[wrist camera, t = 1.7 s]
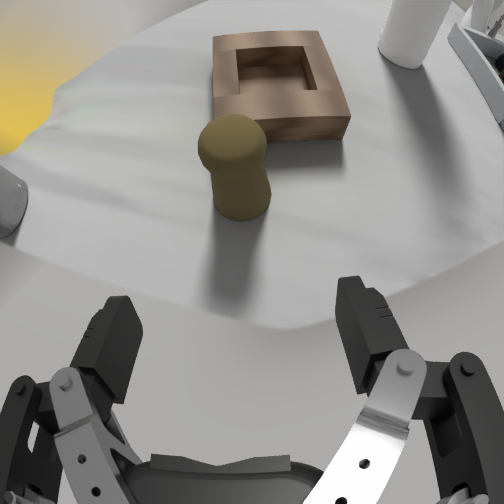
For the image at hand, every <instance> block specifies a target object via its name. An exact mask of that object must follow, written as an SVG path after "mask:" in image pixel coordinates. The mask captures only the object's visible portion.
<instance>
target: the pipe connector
mask: <svg viewBox="0 0 504 504" xmlns="http://www.w3.org/2000/svg"><path fill="white" fill-rule="evenodd" d="M495 65H496V66H497V67H498V68H499V70H500V71H501V73H500V75H499V78H500V80H501V81H502V83H503V85H504V53H503V54H501V55H500V56H499V57H498V58H497V59H496V61H495Z"/></svg>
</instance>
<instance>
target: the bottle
mask: <svg viewBox="0 0 504 504" xmlns="http://www.w3.org/2000/svg"><path fill="white" fill-rule="evenodd" d="M451 2H452V0H392V2H391V5H390V9H389V12H388V15H387V18H386V21H385V24H384V27H383V30H382V31H381V34H380V38H379V42H378V48H379V50H380V52H381V53H382V54H383V55H384V56H385V57H386V58H387V59H388V60H390V61H391V62H393V63H395V64H397V65H399V66H401V67H405V68H411V69H415V68H419V66H420V65H421V63H422V62H423V60H424V59H425V57H426V55H427V52H428V50H429V48H430V46H431V44H432V42H433V40H434V38H435V36H436V34H437V32H438V30H439V28H440V25H441V23H442V21H443V19H444V17H445V15H446V13H447V11H448V9H449V6H450V4H451Z"/></svg>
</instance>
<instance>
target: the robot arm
mask: <svg viewBox="0 0 504 504" xmlns="http://www.w3.org/2000/svg"><path fill="white" fill-rule="evenodd" d="M27 198H28V190H27V185H26V184H25V182H24V181H23V180H22V179H20V178H18V177H17V176H15V175H14V174H12V173H11V172H9V171H8V170H7V169H5V168H4V167H2V166H1V165H0V237H6V236H8V235H10V234H11V233H12V232H13V231H14V230H15V229H16V227H17V226H18V224H19V223H20V221H21V219H22V217H23V214H24V211H25V209H26V204H27ZM335 316H336V323H337V326H338V329H339V333H340V336H341V339H342V342H343V346H344V349H345V353H346V356H347V359H348V363H349V366H350V370H351V373H352V377H353V381H354V384H355V388H356V392H357V394H362V393H367V396H368V400H367V402H366V404H365V406H364V408H363V409H362V411H361V413H360V414H359V416H358V418H357V420H356V422H355V423H354V426H353V427H352V429H351V431H350V432H349V434H348V436H347V438H346V439H345V441H344V443H343V445H342V447H341V448H340V450H339V451H338V453H337V455H336V456H335V458H334V459H333V461H332V463H331V464H330V466H329V467H328V469H327V470H326V472H323V471H322V470H320V469H317V468H315V467H313V466H310V465H307V464H303V463H299V462H291V461H290V455H282V456H269V457H254V458H250V459H246V460H242V461H239V462H234V463H230V464H226V465H221V466H214V465H210V464H206V463H202V462H199V461H195V460H192V459H188V458H185V457H181V456H169V455H159V454H151V460H150V461H148V462H144V463H143V462H142V461H141V459H140V458H139V457H138V456H137V455H136V453H135V452H134V451H133V450H132V448H131V446H130V445H129V443H128V441H127V439H126V437H125V435H124V433H123V431H122V429H121V427H120V425H119V423H118V421H117V419H116V417H115V414H114V413H113V411H112V410H111V407H112V404H113V403H117V404H124V399H125V396H126V392H127V388H128V385H129V381H130V378H131V374H132V370H133V367H134V363H135V360H136V357H137V353H138V350H139V347H140V343H141V340H142V336H143V328H142V324H141V321H140V319H139V317H138V315H137V313H136V311H135V308H134V306H133V304H132V302H131V300H130V298H129V297H128V296H111V297H109V298H108V299H107V301H106V303H105V305H104V308H103V309H100V310H99V311H98V312H97V313H96V314H95V315H94V316H93V317H92V319H91V321H90V323H89V325H88V327H87V330H86V331H85V333H84V335H83V338H82V340H81V342H80V344H79V346H78V348H77V351H76V353H75V355H74V357H73V360H72V362H71V364H70V367H66V368H62V369H60V370H59V371H57V372H56V373H55V374H54V376H53V377H52V379H51V381H49V382H44V383H38V384H36V383H35V381H34V380H33V379H32V378H31V377H29V376H26V375H24V376H21V377H19V378H17V379H16V380H15V381H14V382H13V383H12V385H11V387H10V390H9V392H8V395H7V397H6V400H5V402H4V405H3V408H2V411H1V413H0V504H57V502H58V494H59V487H60V481H61V475H62V470H63V468H64V471H65V474H66V477H67V479H68V482H69V484H70V486H71V489H72V492H73V494H74V497H75V499H76V501H77V503H78V504H375V503H376V501H377V499H378V497H379V496H380V494H381V492H382V490H383V488H384V486H385V485H386V482H387V481H388V479H389V477H390V475H391V473H392V470H393V469H394V467H395V465H396V462H397V460H398V458H399V456H400V454H401V451H402V449H403V447H404V444H405V442H406V440H407V437H408V434H409V429H408V426H409V423H410V420H411V419H414V420H423V422H424V425H425V429H426V433H427V437H428V441H429V445H430V449H431V453H432V458H433V462H434V466H435V471H436V476H437V481H438V487H439V492H440V498H441V500H440V501H439V502H437V503H436V504H504V411H503V409H502V406H501V403H500V401H499V398H498V396H497V393H496V391H495V389H494V386H493V384H492V382H491V379H490V377H489V375H488V373H487V371H486V369H485V366H484V365H483V363H482V361H481V360H480V359H479V358H478V357H477V356H476V355H474V354H472V353H469V352H460V353H458V354H456V355H455V356H454V357H453V358H452V359H451V361H450V362H429V361H425V360H424V359H423V357H422V356H421V355H420V354H418V353H416V352H415V351H412V350H410V349H409V347H408V345H407V343H406V341H405V339H404V337H403V335H402V333H401V330H400V328H399V326H398V324H397V323H396V320H395V319H394V317H393V314H392V312H391V310H390V308H388V304H387V302H386V300H385V298H384V296H383V295H382V294H380V293H379V292H378V291H377V290H376V289H375V288H365V286H364V284H363V282H362V280H361V278H360V276H351V277H342V278H339V280H338V287H337V297H336V306H335ZM33 421H34V422H35V423H37V424H38V425H39V429H38V433H37V437H36V441H35V444H34V448H33V452H32V453H31V451H30V450H29V448H28V438H29V435H30V431H31V428H32V424H33Z"/></svg>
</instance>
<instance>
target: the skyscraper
mask: <svg viewBox="0 0 504 504" xmlns="http://www.w3.org/2000/svg"><path fill="white" fill-rule="evenodd" d="M503 3H504V0H473V3H472V5H471V7H470V8H469V9H468V10H467V11H466V12H465V14H464V15H463V16H462V17H461V18H460V20H459V21H458V22H457V23H459V24H462V25H465V26H467V27H470V28H472V29H475V30H477V31H479V32H482V33H484V34H485V33H486V30H487V27H488V24H489V20H490V17H491V14H492V13H493V12H494V11H496V10H497V9H498V8H499V7H500V6H501V5H502V4H503ZM503 19H504V14H503V15H502V16H501V18H500V20H499V21H496V23H495V25H494V27H493V29H492V30H491V31H490V32H489V33H488V36H490V37H493V38H495V35H496V33H497V31H498V29H499V28H500V27H501V26H502V25H501V22H502V20H503Z"/></svg>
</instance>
